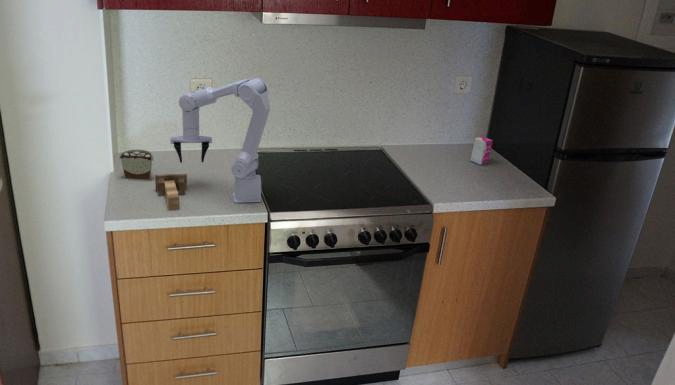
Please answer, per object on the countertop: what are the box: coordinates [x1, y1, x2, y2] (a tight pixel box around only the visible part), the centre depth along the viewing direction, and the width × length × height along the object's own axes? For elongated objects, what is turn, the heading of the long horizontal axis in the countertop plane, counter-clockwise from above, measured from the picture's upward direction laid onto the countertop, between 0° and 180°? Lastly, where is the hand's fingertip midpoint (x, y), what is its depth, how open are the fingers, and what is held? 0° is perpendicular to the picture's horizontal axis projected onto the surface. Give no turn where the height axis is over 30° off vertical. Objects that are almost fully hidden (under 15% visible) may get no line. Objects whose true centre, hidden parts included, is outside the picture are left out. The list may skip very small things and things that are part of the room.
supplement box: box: [469, 136, 494, 166], centre depth 268 cm, size 6×6×12 cm
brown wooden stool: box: [154, 173, 188, 197], centre depth 216 cm, size 11×5×6 cm, turn 105°
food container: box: [118, 149, 155, 182], centre depth 225 cm, size 12×6×10 cm, turn 92°
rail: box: [164, 180, 180, 211], centre depth 210 cm, size 14×4×5 cm, turn 21°
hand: (191, 161), depth 219 cm, fingers open, 7 cm apart
